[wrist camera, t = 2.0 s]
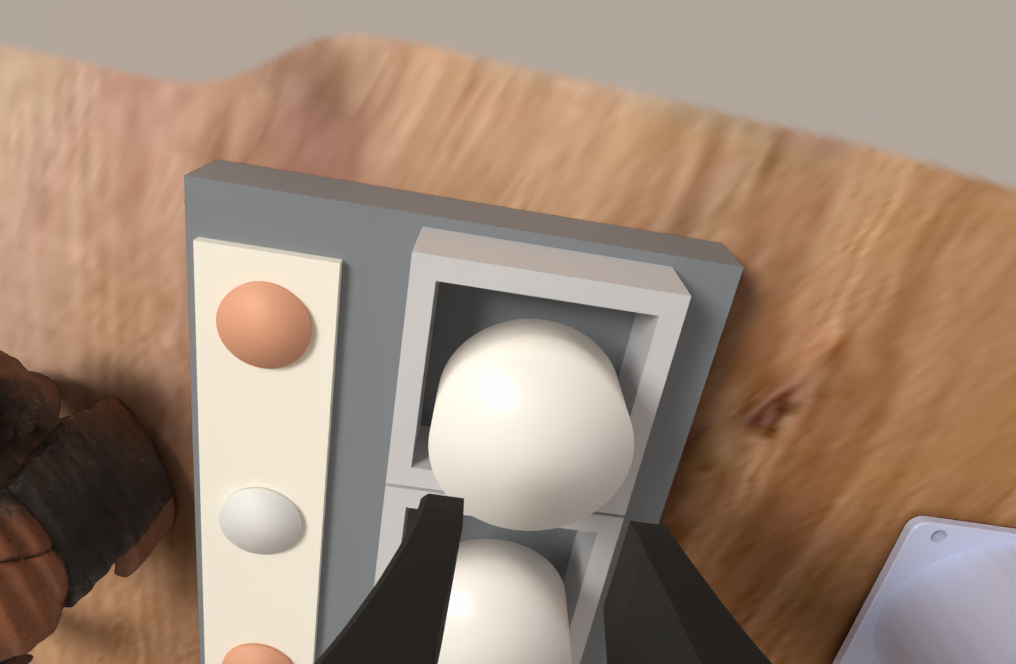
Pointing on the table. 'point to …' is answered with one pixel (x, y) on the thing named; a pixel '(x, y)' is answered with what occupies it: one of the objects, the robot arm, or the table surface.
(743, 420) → the table surface
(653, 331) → the button board
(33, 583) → the brown broken pot
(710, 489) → the table surface
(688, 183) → the table surface
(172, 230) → the table surface
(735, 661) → the robot arm
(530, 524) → the button
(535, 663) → the button middle
